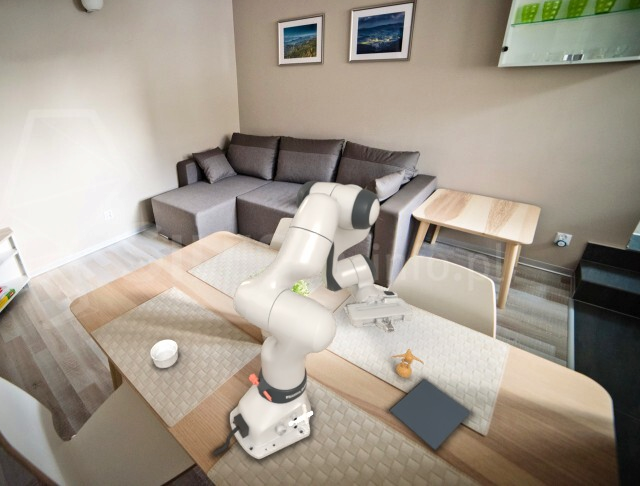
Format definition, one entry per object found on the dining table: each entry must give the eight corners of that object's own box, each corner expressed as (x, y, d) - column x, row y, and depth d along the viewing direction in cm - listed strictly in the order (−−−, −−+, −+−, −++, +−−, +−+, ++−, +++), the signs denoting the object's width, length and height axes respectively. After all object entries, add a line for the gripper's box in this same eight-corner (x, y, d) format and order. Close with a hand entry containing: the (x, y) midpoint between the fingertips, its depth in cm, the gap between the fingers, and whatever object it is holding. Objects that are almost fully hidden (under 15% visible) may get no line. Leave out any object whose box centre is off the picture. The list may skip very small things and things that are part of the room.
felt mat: (434, 450, 77) (435, 449, 77) (389, 411, 87) (389, 409, 87) (469, 413, 85) (470, 411, 84) (424, 380, 94) (424, 379, 94)
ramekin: (147, 366, 106) (144, 356, 105) (162, 346, 114) (159, 336, 112) (170, 372, 103) (168, 363, 101) (184, 351, 111) (182, 342, 109)
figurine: (417, 372, 97) (424, 342, 91) (420, 390, 91) (427, 359, 86) (387, 366, 99) (391, 336, 94) (388, 383, 94) (393, 352, 89)
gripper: (341, 297, 111) (358, 326, 98) (400, 291, 112) (424, 319, 99) (340, 312, 114) (356, 342, 101) (398, 305, 114) (420, 334, 102)
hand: (390, 330), depth 100 cm, fingers closed
